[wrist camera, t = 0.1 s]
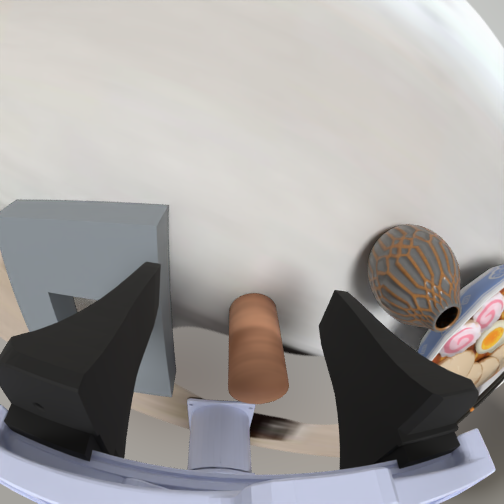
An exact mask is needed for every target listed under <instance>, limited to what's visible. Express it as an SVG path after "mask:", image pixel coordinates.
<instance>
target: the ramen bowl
mask: <svg viewBox="0 0 504 504" xmlns="http://www.w3.org/2000/svg"><path fill="white" fill-rule="evenodd" d="M460 303H461V307H462V312H461V315H460V317H459V319H458V321H457V322H456V323H455V324H454V325H453V326H452V327H451V328H449V329H448V330H446V331H444V332H439V333H438V332H434V331H432V330H430V329H428V331H427V332H426V334H425V335H424V337H423V338H422V340H421V343H420V346H419V349H418V353H419V354H421V355H422V356H424V357H426V358H427V359H429V360H430V361H432V362H434V363H436V364H438V365H439V366H441V367H443V368H445V369H447V370H449V371H451V372H454V373H456V374H459V375H461V376H464V377H466V378H469V379H471V380H472V381H473V383H474V385H475V386H476V388H477V390H478V392H479V396H478V399H477V401H476V402H475V404H474V405H473V406H472V407H471V408H470V409H469V410H468V411H467V412H466V413H465V414H464V415H463V416H462V417H461V418H460V419H459V420H458V421H457V422H456V423H457V424H458V423H460V422H461V421H462V420H463V419H464V418H465V417H467V416H468V415H469V414H470V413H471V412H472V411H473V410H474V409H475V408H476V407H477V406H479V405H480V404H481V403H482V402H483V401H484V400H485V399H486V398H487V397H488V396H489V395H490V394H491V393H492V392H493V391H494V390H495V389H496V388H498V387H499V386H500V385H501V384H502V383H503V382H504V264H502V265H499V266H496V267H492V268H490V269H488V270H487V271H486V272H484V273H483V274H482V275H480V276H479V277H477V278H476V279H475V280H473V281H472V282H470V283H469V284H468V285H466V286H465V287H463V288H462V289H461V290H460Z"/></svg>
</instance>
